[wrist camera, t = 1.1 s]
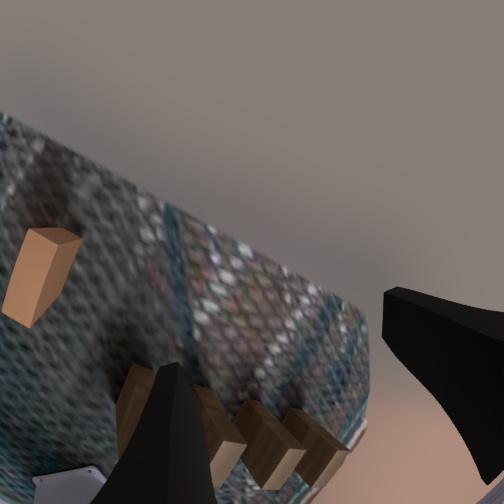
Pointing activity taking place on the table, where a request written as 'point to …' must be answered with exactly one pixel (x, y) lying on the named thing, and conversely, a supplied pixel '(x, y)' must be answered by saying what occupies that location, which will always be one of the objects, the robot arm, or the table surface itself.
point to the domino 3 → (218, 435)
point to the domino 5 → (314, 448)
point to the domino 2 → (132, 403)
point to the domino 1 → (39, 273)
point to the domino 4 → (266, 445)
